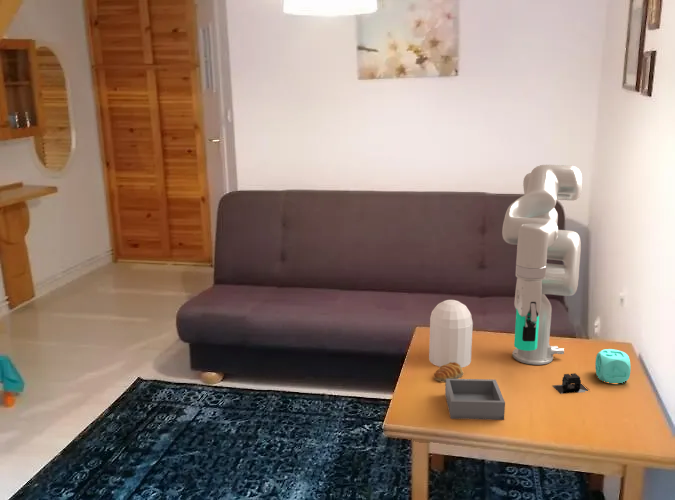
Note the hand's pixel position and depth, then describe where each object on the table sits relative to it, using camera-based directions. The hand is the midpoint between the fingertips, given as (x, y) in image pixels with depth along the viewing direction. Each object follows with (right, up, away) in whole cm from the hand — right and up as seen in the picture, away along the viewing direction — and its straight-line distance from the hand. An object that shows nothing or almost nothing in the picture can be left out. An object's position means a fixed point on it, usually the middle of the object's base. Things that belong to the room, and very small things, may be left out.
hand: (526, 336), depth 177 cm
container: (-14, -13, +37) cm, 41 cm away
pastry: (-17, -16, +25) cm, 34 cm away
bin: (-13, -20, +6) cm, 25 cm away
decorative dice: (+32, -16, +23) cm, 42 cm away
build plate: (+18, -18, +16) cm, 30 cm away
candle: (0, -3, +1) cm, 3 cm away
